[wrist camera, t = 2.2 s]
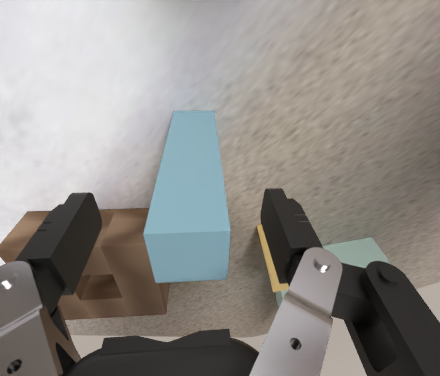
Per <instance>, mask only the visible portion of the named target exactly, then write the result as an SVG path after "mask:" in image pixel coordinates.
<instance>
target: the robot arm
mask: <svg viewBox="0 0 440 376" xmlns="http://www.w3.org/2000/svg"><path fill="white" fill-rule="evenodd" d="M261 224H262V228H263V231H264V234H265V238H266V241H267V244H268V247H269V251H270V254H271V257H272V261H273V264H274V267H275V271H276V274H277V277H278V280H279V284H286V283H288V286H289V289H288V291H287V293H286V294H285V296H284V298H283V301H282V303H281V305H280V307H279V310H278V312H277V314H276V316H275V319H274V321H273V323H272V325H271V328H270V330H269V332H268V334H267V337H266V339H265V341H264V343H263V346H262V348H261V351H260V352H258V351H256V350H255V349H254V348H253V347H251V346H250V345H248V344H246V343H244V342H242V341H240V340H237V339H234V338H230V332H229V329H221V330H207V331H198V332H195V333H193V334H190V335H187V336H184V337H182V338H179V339H176V340H173V341H171V342H162V341H157V340H153V339H149V338H144V337H140V336H125V337H113V338H112V337H111V338H104V341H103V344H102V348H101V349H98V350H96V351H94V352H92V353H90V354H88V355H87V356H85V357H83V358H82V359H81V357H80V355H79V354H78V352H77V350H76V348H75V346H74V344H73V342H72V339H71V336H70V333H69V331H68V328H67V325H66V323H65V320H64V317H63V314H62V312H61V309H60V306H59V305H58V302H59V300H60V298H61V296H65V295H73V294H74V292H75V290H76V287H77V285H78V283H79V280H80V278H81V276H82V273H83V271H84V269H85V266H86V264H87V262H88V259H89V257H90V255H91V252H92V250H93V248H94V245H95V243H96V240H97V238H98V236H99V233H100V231H101V228H102V218H101V215H100V212H99V209H98V207H97V204H96V201H95V198H94V196H93V194H92V193H72V194H71V195H70V196H69V197H68V199H67V200H66V202H65V203H64V204H63V205H58V206H57V207H56V208H55V209H53V210H52V211H51V212H49V213H48V215H47V216H46V218H45V219H44V220H43V222H42V224H41V225H40V226H39V227H38V229H37V232H35V233H34V234H33V236H32V237H31V239H30V240H29V241H28V243H27V244H26V246H25V247H24V248H23V250H22V251H21V253H20V254H19V255H18V257H17V258H16V259H15V261H14V262H10V263H6V264H4V265H2V266H0V376H320V373H321V368H322V364H323V360H324V356H325V352H326V348H327V344H328V340H329V336H330V332H331V328H332V322H333V319H332V318H331V316H332V317H336V318H340V319H343V320H344V321H345V324H346V326H347V329H348V331H349V333H350V336H351V338H352V340H353V343H354V345H355V348H356V350H357V353H358V355H359V357H360V360H361V362H362V364H363V367H364V369H365V372H366V374H367V376H440V323H439V321H438V320H437V318H436V317H435V316H434V314H433V313H432V312H431V310H430V309H429V307H428V306H427V304H426V303H425V302H424V300H423V299H422V297H421V296H420V295H419V293H418V292H417V291H416V289H415V288H414V286H413V285H412V284H411V282H410V281H409V279H408V278H407V277H406V275H405V274H404V273H403V272H402V271H400V270H399V269H398V268H396V267H395V266H393V265H391V264H389V263H386V262H382V261H373V262H370V263H369V264H368V265H367V267H366V268H362V267H358V266H354V265H349V264H345V263H342V262H340V260H339V259H338V257H337V256H336V255H334V254H333V253H332V252H330V251H328V250H326V249H324V248H323V246H322V244H321V243H320V241H319V239H318V237H317V235H316V233H315V231H314V229H313V228H312V226H311V224H310V222H309V220H308V218H307V216H306V215H305V212H304V211H303V209H302V207H301V205H300V204H298V203H297V202H296V201H295V200H294V199H287V197H286V195H285V193H284V191H283V189H281V188H276V189H266V190H265V192H264V198H263V203H262V209H261Z"/></svg>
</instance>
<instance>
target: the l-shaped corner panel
mask: <svg viewBox="0 0 440 376" xmlns="http://www.w3.org/2000/svg"><path fill="white" fill-rule="evenodd" d="M323 248H324V249H326V250H328V251H330V252H332V253H333V254H334V255H336V256H337V257H338V259H339V260H340V262H342V263H345V264H349V265H354V266H358V267H362V268H366V267H367V265H368V264H369V263H370V262H373V261H382V262H386V263H389V264H391V263H390V261H389V260H388V259H387V257H386V256H385V255H384V253H383V252H382V251H381V249H380V248H379V246H378V245H377V244H376V242H375V241H374V240H373V238H372V237H370V238H364V239H359V240H353V241H348V242H342V243H337V244H331V245H326V246H323ZM391 265H392V264H391ZM287 291H288V290H284V291H278V292H275V293H276V301H277V306H278V310H279V307H280V305H281V303H282V301H283V298H284V296H285V294H286V293H287Z"/></svg>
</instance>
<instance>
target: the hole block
mask: <svg viewBox="0 0 440 376" xmlns="http://www.w3.org/2000/svg"><path fill="white" fill-rule="evenodd" d="M149 209H150V208H140V209H104V210H99V212H100V215H101V218H102V228H101V231H100V233H99V236H98V238H97V240H96V243H95V245H94V248H93V250H92V252H91V255H90V257H89V259H88V262H87V264H86V266H85V269H84V271H83V273H82V276H81V278H80V280H79V283H78V285H77V287H76V290H75V292H74V294H73V295H65V296H61V298H60V300H59V302H58V305H59V306H60V309H61V312H62V314H63V317H64V320H73V319H91V318H108V317H126V316H144V315H161V314H166V310H167V301H168V292H169V283H170V282H165V283H155V279H154V275H153V271H152V267H151V263H150V259H149V255H148V251H147V247H146V243H145V239H144V235H143V233H144V229H145V225H146V221H147V217H148V213H149ZM49 212H51V211H32V212H27V213H26V214H25V215H24V216H23V218H22V219H21V220H20V221H19V222H18V224H17V225H16V226H15V227H14V228H13V229H12V231H11V232H10V233H9V234H8V235H7V237H6V238H5V239H4V240H3V241H2V243H1V244H0V257H1V258H2V259H3V261H4V262H5V263H10V262H14V261H15V259H16V258H17V257H18V255H19V254H20V253H21V251H22V250H23V248H24V247H25V246H26V244H27V243H28V241H29V240H30V239H31V237H32V236H33V234H34V233H35V232H37V229H38V227H39V226H40V225H41V224H42V222H43V220H44V219H45V218H46V216H47V215H48V213H49Z"/></svg>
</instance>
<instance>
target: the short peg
mask: <svg viewBox="0 0 440 376" xmlns="http://www.w3.org/2000/svg"><path fill="white" fill-rule="evenodd" d="M257 229H258V233H259V238H260V243H261V247H262V251H263V254H264V258H265V262H266V266H267V270H268V274H269V278H270V282H271V286H272V290H273V292H278V291H284V290H288V289H289V286H288V283H286V284H279V280H278V277H277V274H276V271H275V267H274V264H273V261H272V257H271V254H270V251H269V247H268V244H267V241H266V238H265V234H264V231H263V228H262V224H261V225H257Z"/></svg>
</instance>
